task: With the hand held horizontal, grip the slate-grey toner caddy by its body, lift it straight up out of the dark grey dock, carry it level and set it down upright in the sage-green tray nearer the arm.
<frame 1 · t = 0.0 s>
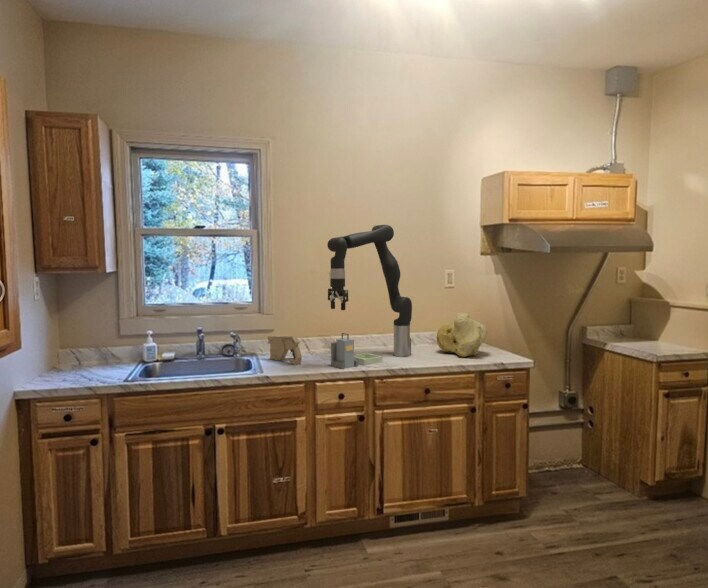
hand: (337, 309, 255), 29 cm above the countertop, tool pointing down, fingers open, 8 cm apart
dock: (345, 366, 258), on the countertop
tray: (365, 361, 269), on the countertop
sculpture: (461, 354, 287), on the countertop
tan cutout panel: (284, 362, 270), on the countertop
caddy: (345, 366, 258), on the countertop
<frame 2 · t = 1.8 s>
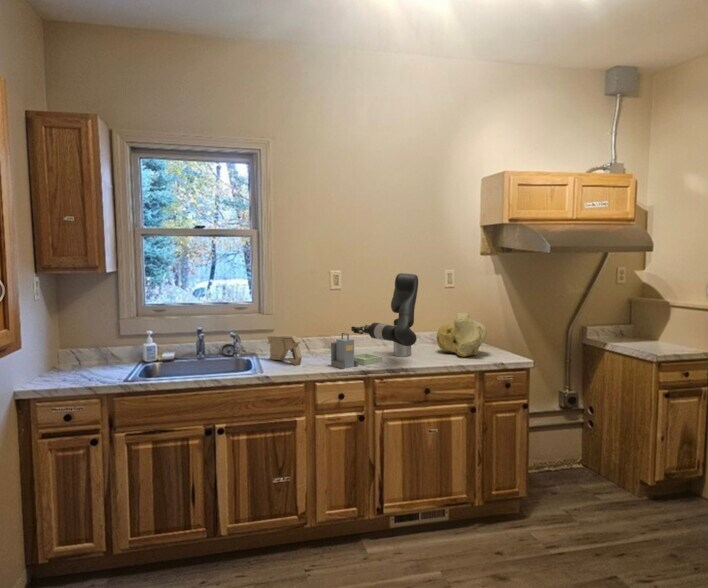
hand: (358, 327, 247), 21 cm above the countertop, tool horizontal, fingers open, 8 cm apart
nothing on the countertop moved.
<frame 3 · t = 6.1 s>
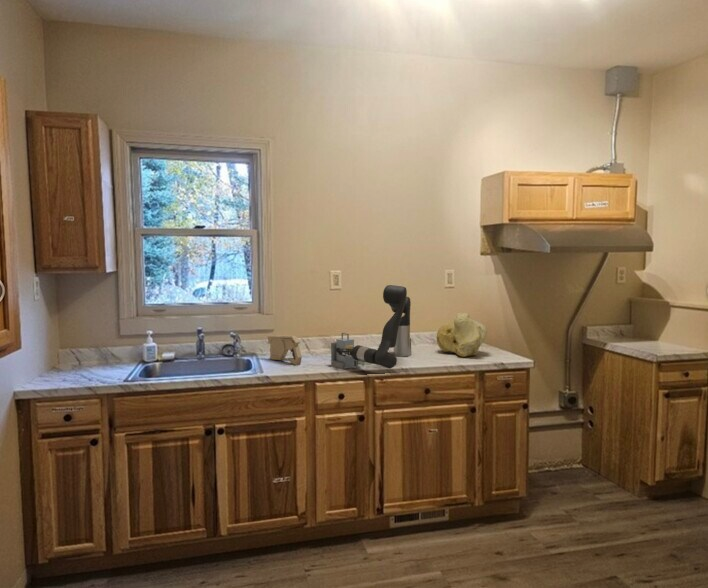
hand: (342, 349, 259), 9 cm above the countertop, tool horizontal, fingers closed on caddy, 6 cm apart
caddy: (345, 366, 258), on the countertop, touching gripper
everything else where it was.
when the fingers open (10 cm above the countertop, at t = 11.0 s): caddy drops 1 cm, resting on tray.
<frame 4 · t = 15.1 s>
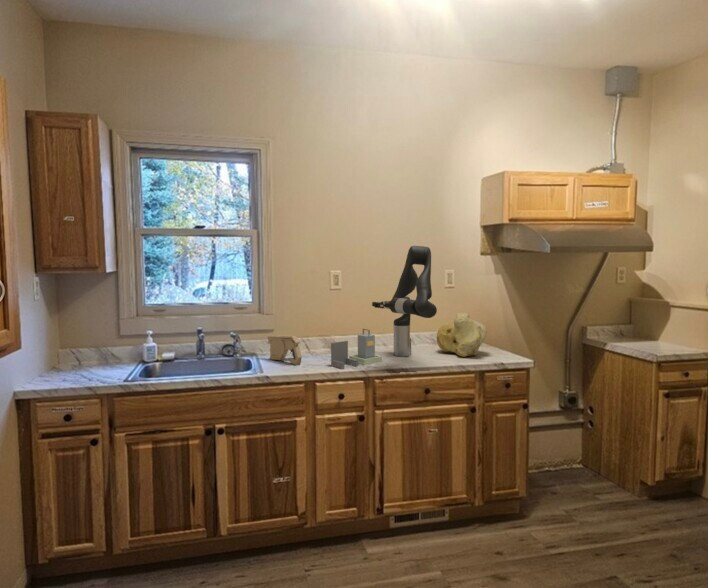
hand: (378, 303, 258), 32 cm above the countertop, tool horizontal, fingers open, 8 cm apart
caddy: (366, 361, 268), resting on tray
everything else where it was.
at the end: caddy inside the target area on the tray (1.0 cm from its centre), point 0.5 cm above the tray's base; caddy tilted 0°; the gripper is holding nothing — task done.
